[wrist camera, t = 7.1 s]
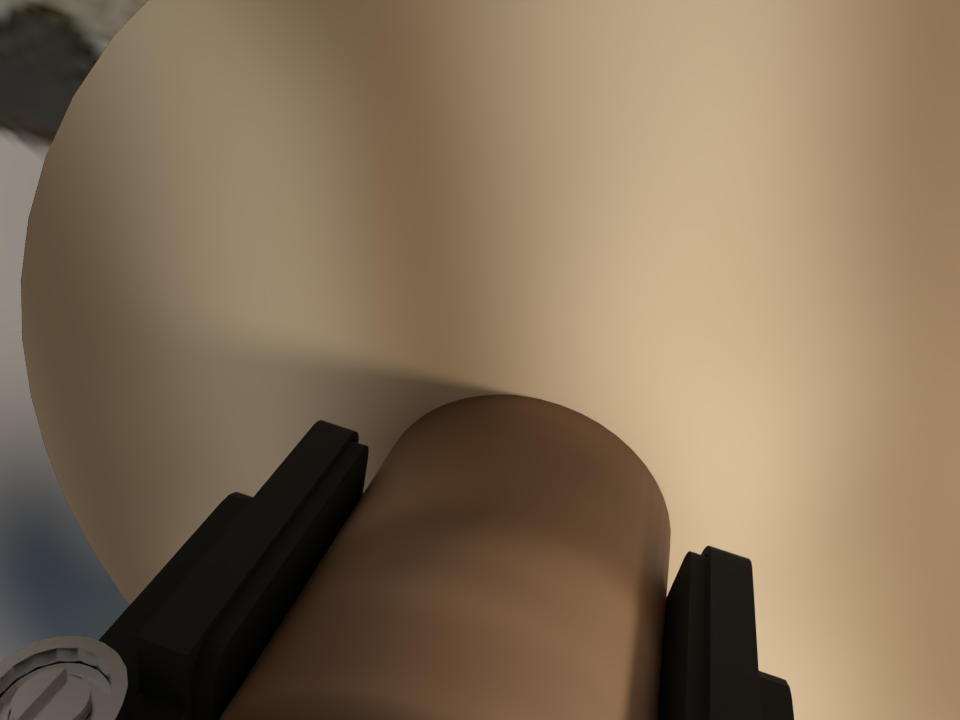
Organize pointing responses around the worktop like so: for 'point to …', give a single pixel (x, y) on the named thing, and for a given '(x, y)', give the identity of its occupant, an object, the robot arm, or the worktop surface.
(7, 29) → the worktop surface
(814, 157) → the lid
